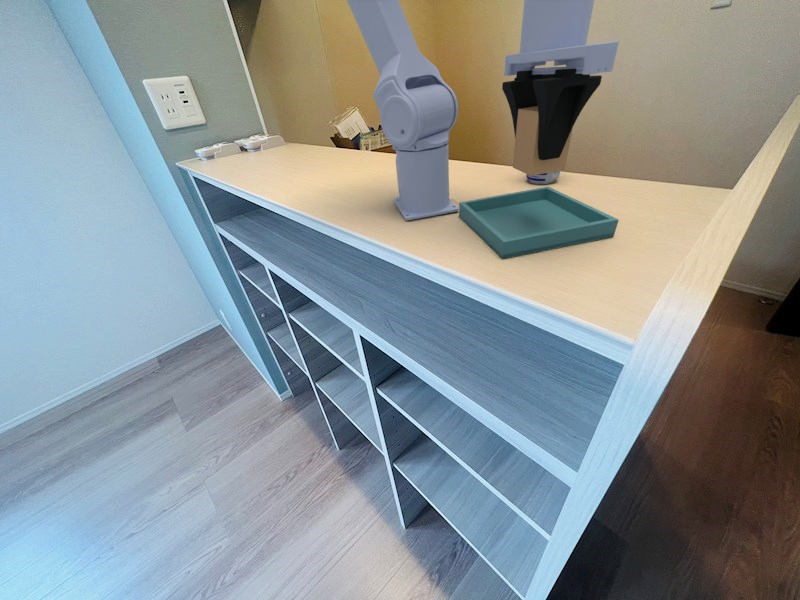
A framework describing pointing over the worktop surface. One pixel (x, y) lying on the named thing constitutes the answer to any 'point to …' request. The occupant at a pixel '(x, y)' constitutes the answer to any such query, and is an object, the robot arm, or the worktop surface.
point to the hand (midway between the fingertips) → (537, 154)
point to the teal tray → (535, 221)
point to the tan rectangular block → (534, 146)
